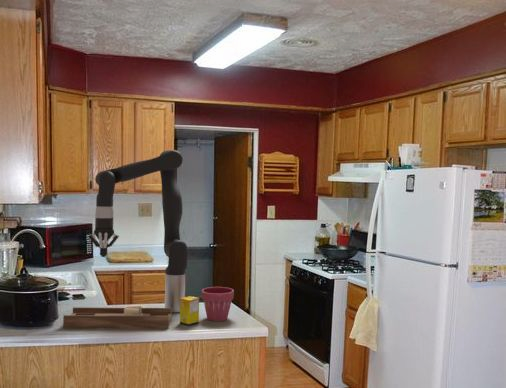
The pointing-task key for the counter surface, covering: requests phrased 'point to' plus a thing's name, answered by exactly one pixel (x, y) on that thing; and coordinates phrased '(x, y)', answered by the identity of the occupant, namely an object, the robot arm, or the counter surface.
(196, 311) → the supplement box
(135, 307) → the maple block
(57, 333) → the counter surface
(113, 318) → the walnut track
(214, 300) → the plant pot
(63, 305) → the counter surface
